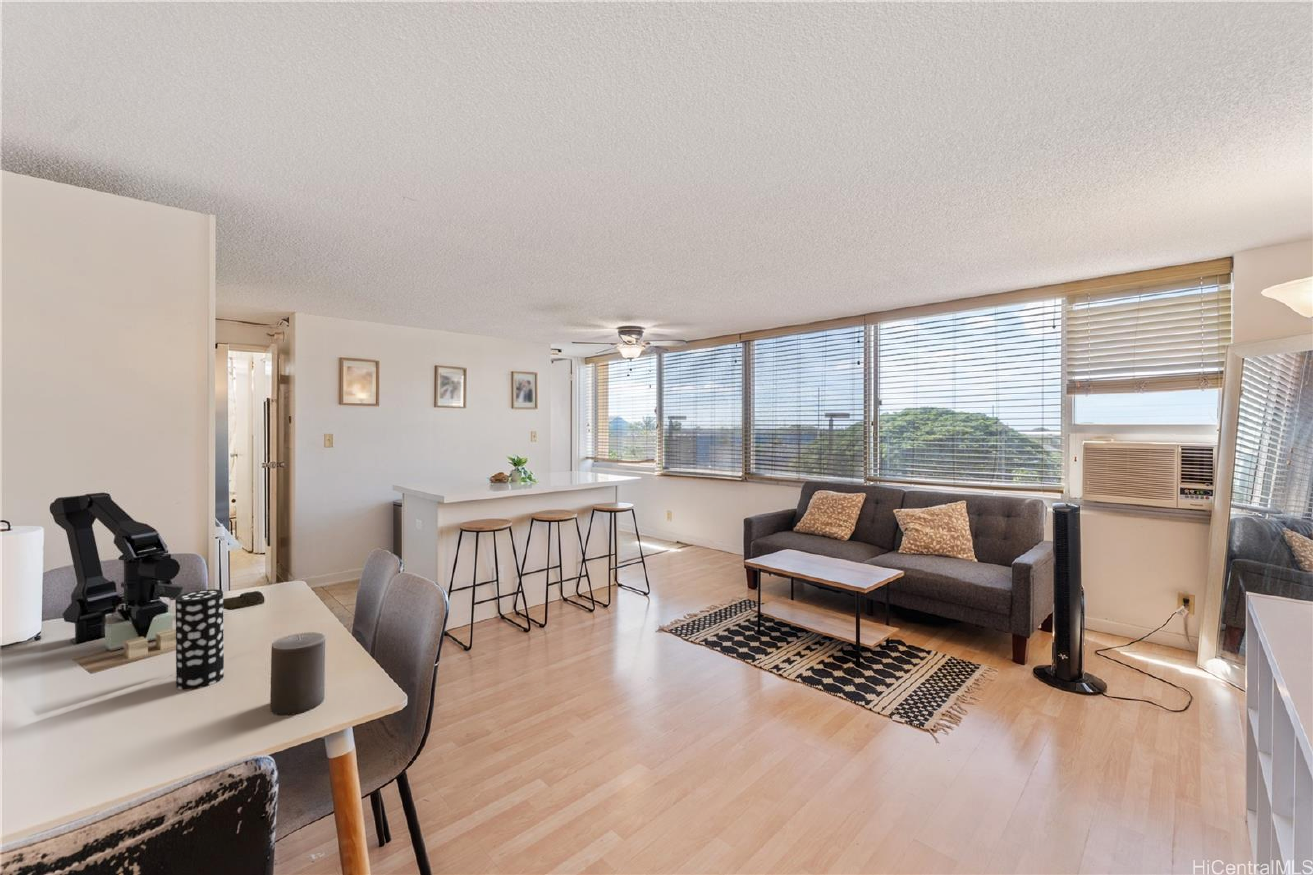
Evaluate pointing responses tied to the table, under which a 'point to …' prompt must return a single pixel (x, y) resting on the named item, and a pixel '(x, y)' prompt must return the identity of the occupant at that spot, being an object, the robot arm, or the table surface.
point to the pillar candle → (297, 673)
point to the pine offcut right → (166, 639)
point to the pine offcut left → (135, 647)
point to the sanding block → (126, 631)
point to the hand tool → (244, 600)
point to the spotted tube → (199, 639)
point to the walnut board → (116, 658)
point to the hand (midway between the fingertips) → (139, 636)
